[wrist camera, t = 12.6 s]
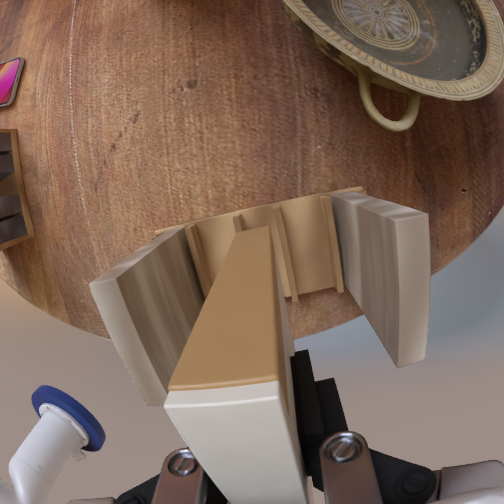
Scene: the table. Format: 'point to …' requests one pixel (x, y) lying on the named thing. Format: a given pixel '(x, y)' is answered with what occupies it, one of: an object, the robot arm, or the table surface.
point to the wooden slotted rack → (291, 272)
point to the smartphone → (9, 79)
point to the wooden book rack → (12, 194)
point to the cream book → (243, 382)
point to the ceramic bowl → (408, 47)
